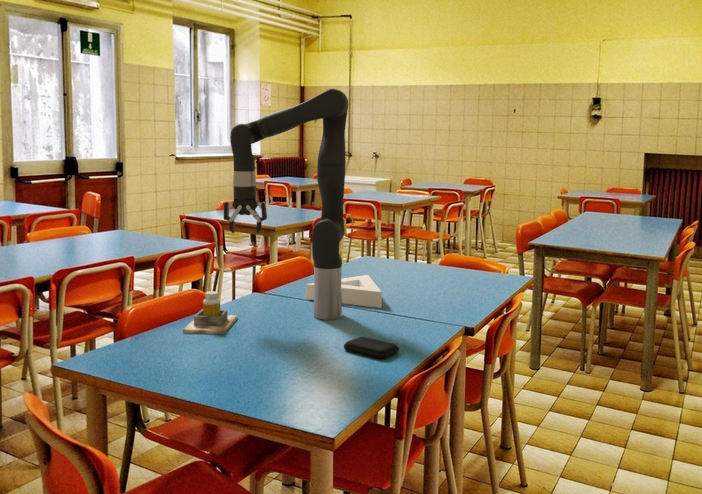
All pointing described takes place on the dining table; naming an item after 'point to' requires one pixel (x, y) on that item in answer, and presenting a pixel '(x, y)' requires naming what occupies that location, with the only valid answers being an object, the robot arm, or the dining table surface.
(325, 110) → the robot arm
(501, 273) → the dining table surface
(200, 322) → the caddy
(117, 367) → the dining table surface
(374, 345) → the carrying case or bag
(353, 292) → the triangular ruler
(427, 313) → the dining table surface
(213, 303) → the supplement bottle
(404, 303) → the dining table surface
